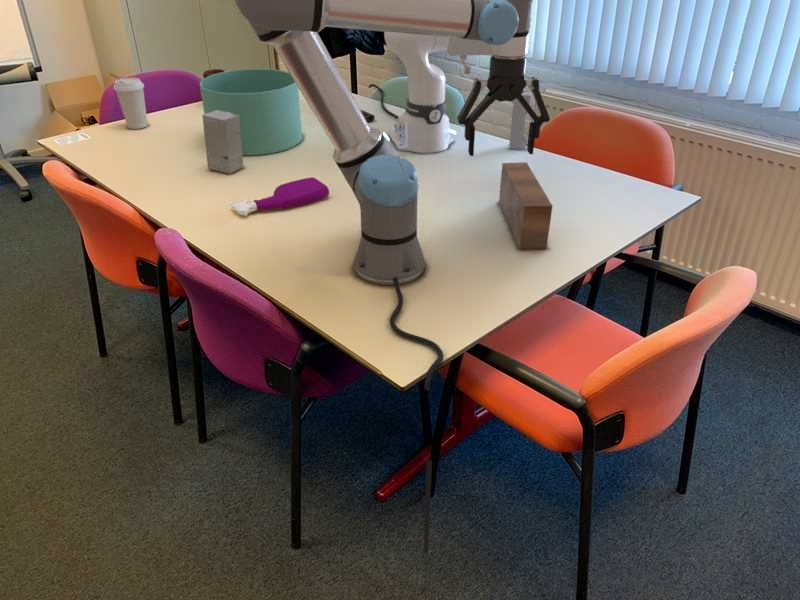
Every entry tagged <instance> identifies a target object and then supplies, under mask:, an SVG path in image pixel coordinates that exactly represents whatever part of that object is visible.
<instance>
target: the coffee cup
mask: <svg viewBox="0 0 800 600" xmlns="http://www.w3.org/2000/svg"><path fill="white" fill-rule="evenodd" d="M144 88H145V84H144V82H142V80H141V79H140V78H138V77H124V78H119V79H117V80H115V81H114V84H113V90H114V91H115V93H116V96H117V99H118V102H119V105H120V108H121V112H122V114H123V117H124V120H125V122H126V126H127V128H128V129H131V130H139V129H144V128H146V127H148V125H149V123H148V116H147V115H148V114H147V109H146V108H147V107H146V100H145V91H144Z"/></svg>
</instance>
